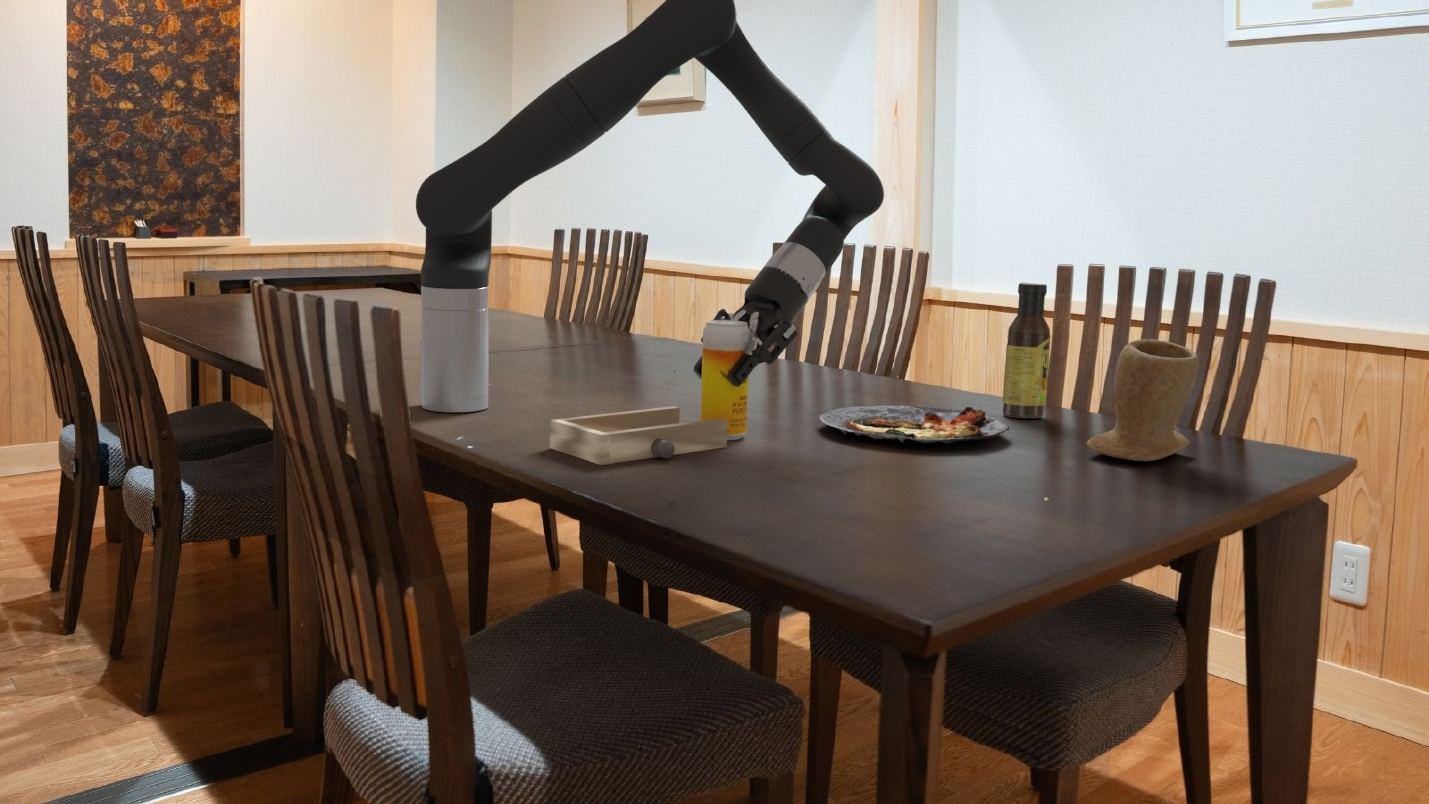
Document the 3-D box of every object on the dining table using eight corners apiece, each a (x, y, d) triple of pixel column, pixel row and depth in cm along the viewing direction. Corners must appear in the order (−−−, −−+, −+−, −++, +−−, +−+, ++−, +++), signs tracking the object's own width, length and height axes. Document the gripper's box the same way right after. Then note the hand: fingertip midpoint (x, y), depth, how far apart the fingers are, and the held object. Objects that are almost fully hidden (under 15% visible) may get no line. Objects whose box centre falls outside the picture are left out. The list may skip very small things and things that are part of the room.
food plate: (1023, 429, 170) (1024, 404, 170) (986, 462, 149) (987, 434, 149) (853, 415, 181) (854, 391, 180) (797, 443, 160) (797, 417, 159)
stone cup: (1165, 474, 146) (1178, 350, 143) (1073, 457, 154) (1084, 339, 151) (1213, 457, 157) (1226, 342, 154) (1125, 441, 165) (1135, 332, 162)
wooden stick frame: (541, 445, 149) (541, 417, 148) (663, 429, 161) (664, 403, 161) (611, 468, 138) (611, 438, 137) (737, 449, 150) (738, 422, 150)
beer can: (741, 442, 155) (746, 325, 152) (695, 439, 156) (698, 323, 153) (749, 433, 161) (754, 321, 158) (705, 430, 162) (708, 318, 159)
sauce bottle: (1048, 421, 178) (1059, 285, 174) (1005, 419, 178) (1015, 284, 175) (1039, 413, 184) (1050, 282, 181) (998, 411, 184) (1008, 280, 181)
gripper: (735, 261, 165) (664, 352, 159) (810, 268, 154) (737, 366, 148) (762, 298, 169) (694, 389, 163) (837, 308, 158) (767, 405, 153)
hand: (715, 378), depth 156 cm, fingers closed on beer can, 6 cm apart
